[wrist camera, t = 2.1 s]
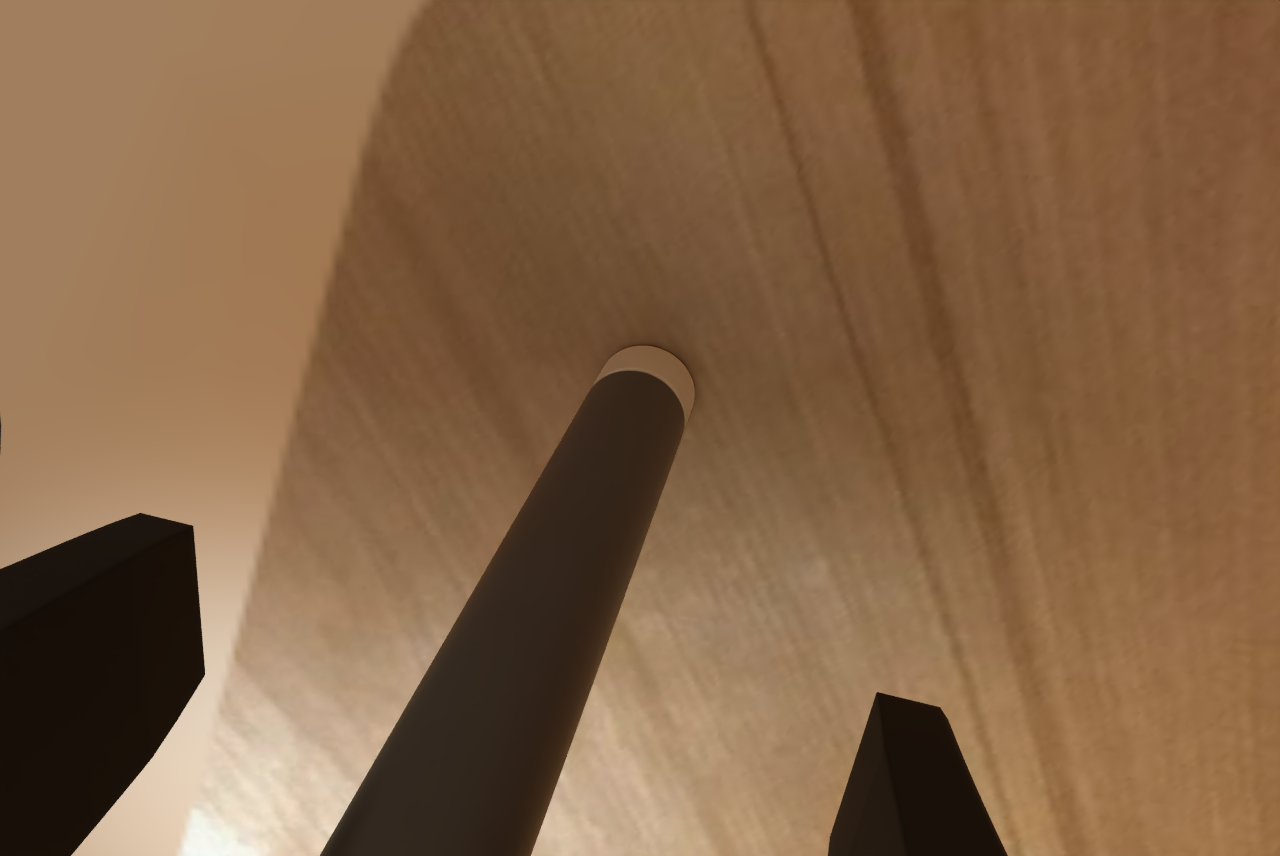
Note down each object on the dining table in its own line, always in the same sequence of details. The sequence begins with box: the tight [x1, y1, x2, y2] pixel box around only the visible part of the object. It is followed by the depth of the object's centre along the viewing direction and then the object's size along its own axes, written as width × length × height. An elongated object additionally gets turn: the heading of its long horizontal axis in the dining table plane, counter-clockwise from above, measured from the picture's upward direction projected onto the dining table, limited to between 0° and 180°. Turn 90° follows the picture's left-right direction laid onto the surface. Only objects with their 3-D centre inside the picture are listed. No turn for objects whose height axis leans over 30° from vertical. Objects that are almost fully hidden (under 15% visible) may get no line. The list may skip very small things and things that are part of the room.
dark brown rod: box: [320, 346, 695, 856], centre depth 12 cm, size 2×2×11 cm
